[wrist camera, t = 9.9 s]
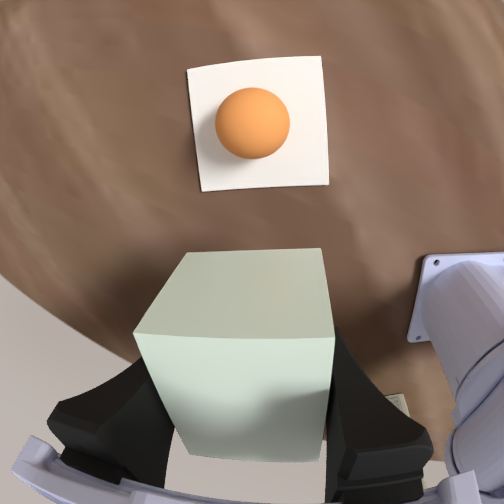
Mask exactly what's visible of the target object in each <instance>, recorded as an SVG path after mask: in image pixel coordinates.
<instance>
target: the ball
mask: <svg viewBox="0 0 504 504" xmlns="http://www.w3.org/2000/svg"><path fill="white" fill-rule="evenodd" d="M215 129H216V133H217V136H218V138H219V140H220V142H221V143H222V145H223V146H224V147H225V148H226V149H227V150H228V151H229V152H231V153H232V154H234V155H236V156H238V157H241V158H245V159H260V158H264V157H267V156H269V155H271V154H273V153H275V152H276V151H277V150H278V149H279V148H280V147H281V146H282V145H283V144H284V142H285V140H286V139H287V136H288V134H289V129H290V118H289V113H288V111H287V108H286V106H285V105H284V103H283V102H282V101H281V100H280V99H279V98H278V97H277V96H276V95H275V94H273V93H272V92H270V91H268V90H265V89H261V88H254V87H251V88H244V89H240V90H237V91H235V92H233V93H232V94H230V95H229V96H228V97H227V98H225V100H224V101H223V102H222V103H221V105H220V106H219V108H218V111H217V114H216V118H215Z"/></svg>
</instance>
